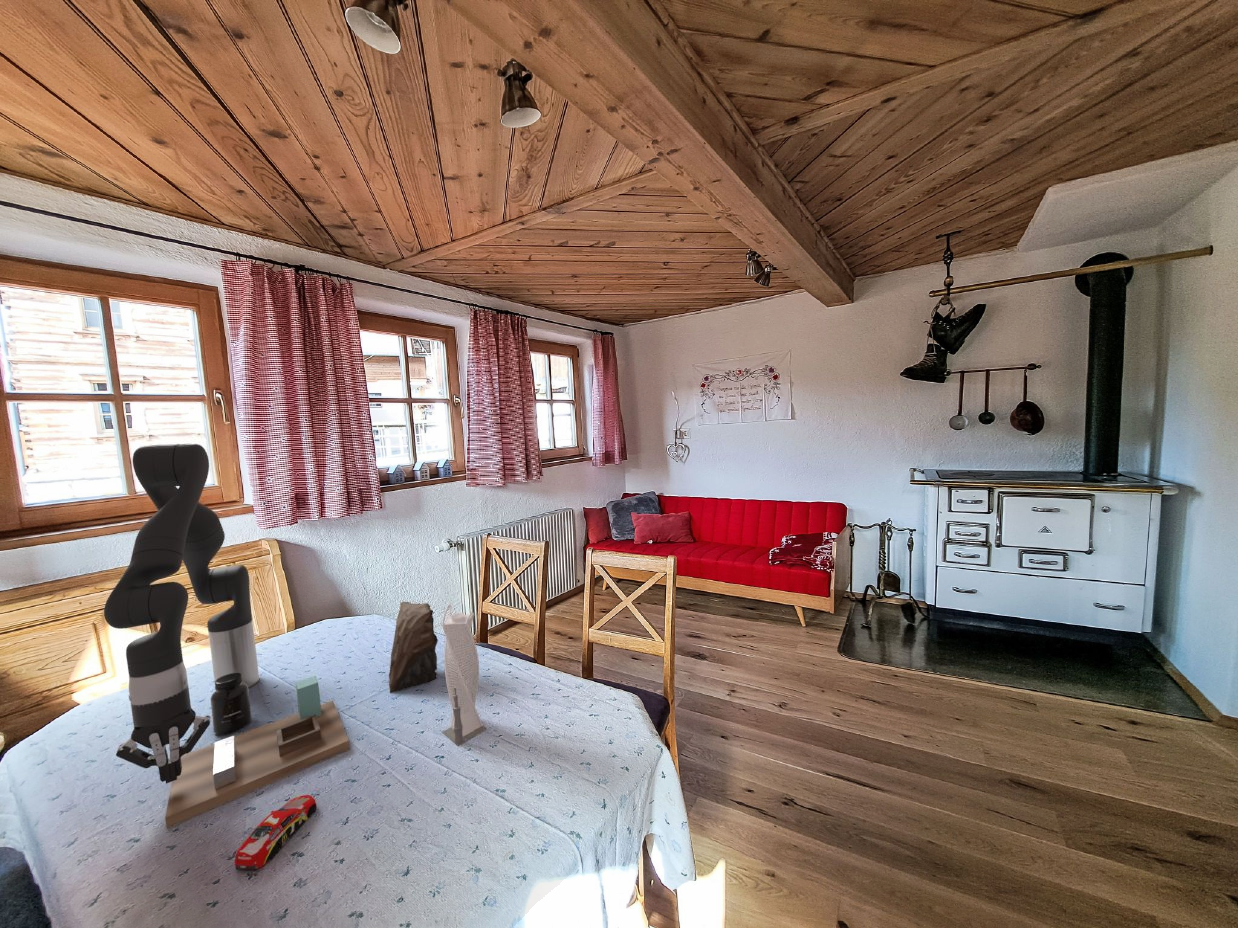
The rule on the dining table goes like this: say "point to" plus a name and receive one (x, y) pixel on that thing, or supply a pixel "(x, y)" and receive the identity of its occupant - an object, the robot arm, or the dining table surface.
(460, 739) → the skyscraper
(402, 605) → the brown rock
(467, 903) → the dining table surface
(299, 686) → the peg
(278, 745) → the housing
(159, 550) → the robot arm
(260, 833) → the race car
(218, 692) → the supplement bottle
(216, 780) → the bar
